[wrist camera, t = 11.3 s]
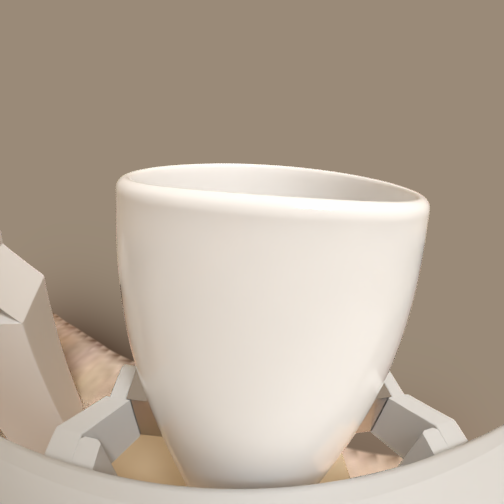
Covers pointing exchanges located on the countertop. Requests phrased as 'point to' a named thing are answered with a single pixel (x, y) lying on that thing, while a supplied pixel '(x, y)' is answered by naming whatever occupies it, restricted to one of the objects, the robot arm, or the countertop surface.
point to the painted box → (165, 471)
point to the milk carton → (31, 358)
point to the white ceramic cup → (264, 311)
